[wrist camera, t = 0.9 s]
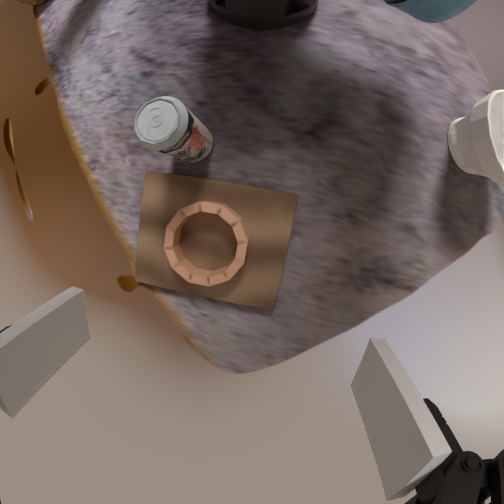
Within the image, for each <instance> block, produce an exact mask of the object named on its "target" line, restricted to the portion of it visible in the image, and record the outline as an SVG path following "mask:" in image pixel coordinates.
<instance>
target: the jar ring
mask: <svg viewBox="0 0 504 504" xmlns="http://www.w3.org/2000/svg"><path fill="white" fill-rule="evenodd" d="M201 211H202V212H208V213H214V214H218V215H219V216H221V217H222V218H223V219H224V220H225V221H226V222H228V223H229V224H230V225H231V226H232V228H233V231H234V234H235V236H236V239H237V242H238V245H237V250H236V256H235V258H234V259H233V260H232V261H231V262H230V263H229V264H228V266H226V267H223V268H220V269H217V270H214V271H209V270H204V269H199V268H196V267H195V266H194V265H193V264H192V263H190V262H189V261H188V260H187V259H186V258H185V257H184V254H183V252H182V249H181V246H180V244H179V241H180V233H181V227H182V226H183V225H184V223H185V222H186V221H187V220H188V218H189V217H190V216H191V215H193V214H195V213H198V212H201ZM248 241H249V236H248V233H247V231H246V228H245V225H244V222H243V220H242V218H241V217H240V216H239V215H238V214H237V213H236V212H234V211H233V210H232V209H231V208H230V207H228V206H227V205H226V204H222V203H216V202H211V201H199V202H197V203H194V204H192V205H189V206H187V207H184V208H182V209H179V210H178V212H177V213H176V214H175V216H174V217H173V218H172V220H171V221H170V223H169V224H168V225H167V227H166V234H165V242H164V250H165V252H166V255H167V257H168V260H169V262H170V265H171V267H172V269H173V270H175V271H176V272H177V273H178V274H179V275H180V276H182V277H183V278H184V279H185V280H186V281H188V282H190V283H195V284H199V285H204V286H213V285H216V284H219V283H222V282H225V281H228V280H230V279H231V278H232V277H233V275H234V274H235V273H236V272H237V271H238V270H239V269H240V268H241V266H242V265H243V264H244V261H245V257H246V252H247V247H248Z"/></svg>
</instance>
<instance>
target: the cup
mask: <svg viewBox="0 0 504 504" xmlns="http://www.w3.org/2000/svg"><path fill="white" fill-rule="evenodd" d="M448 146H449V149H450V152H451V155H452V157H453V159H454V161H455V162H456V164H457V166H458V167H459V168H460V169H462V170H463V171H464V172H466V173H469V174H478V175H481V176H485V177H488V178H490V179H491V180H492V181H493V182H494V183H497V184H501V185H504V90H496V91H493V92H492V93H490V94H488V95H487V96H485V97H484V98H482V99H481V100H479V101H478V102H477V103H476V104H475V106H474V107H473V108H472V110H471V111H470V113H469V114H468V115H467V116H465V117H462V118H458V119H456V120H454V121H453V122H452V123H451V124H450V126H449V130H448Z"/></svg>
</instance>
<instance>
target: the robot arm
mask: <svg viewBox="0 0 504 504" xmlns="http://www.w3.org/2000/svg"><path fill="white" fill-rule="evenodd" d="M209 1H210V4H211V6H212V8H213V10H214V11H215V13H216V14H217V15H218V16H220V17H221V18H223V19H224V20H226V21H228V22H230V23H232V24H235V25H238V26H242V27H247V28H254V29H275V28H282V27H287V26H290V25H294V24H296V23H299V22H301V21H303V20H304V19H306V18H307V17H309V16H310V15H311V14H312V13H313V11H314V10H315V8H316V5H317V2H318V0H209ZM383 1H385V2H386V3H387V4H388V5H390V6H394V7H396V8H398V9H400V10H402V11H404V12H406V13H407V14H409V15H411V16H412V17H414V18H416V19H418V20H420V21H423V22H426V23H436V22H442V21H445V20H448V19H451V18H453V17H455V16H456V15H458V14H460V13H461V12H463V11H464V10H466V9H467V8H468V7H470V6H471V5H472V4H473V3H474V2H475V1H477V0H383ZM89 339H90V334H89V328H88V321H87V314H86V306H85V297H84V290H83V289H79V288H76V287H71V288H69V289H67V290H66V291H64V292H63V293H61V294H59V295H58V296H56V297H55V298H53V299H51V300H50V301H48V302H47V303H45V304H43V305H42V306H40V307H39V308H37V309H36V310H34V311H32V312H31V313H29V314H28V315H26V316H25V317H23V318H22V319H21V320H19V321H17V322H16V323H14V324H13V325H11V326H8V327H6V328H4V329H3V330H2V331H0V408H1V409H2V410H3V411H4V412H5V413H7V414H8V415H9V416H10V417H12V418H13V417H15V415H16V414H17V413H18V412H19V411H20V410H21V409H22V408H23V406H24V405H25V404H26V403H27V402H28V401H29V400H30V399H31V398H32V397H33V396H34V395H35V394H36V392H38V390H39V389H40V388H41V387H42V386H43V385H44V384H45V383H46V382H47V381H48V380H49V379H50V378H51V377H52V376H53V375H54V374H55V373H56V372H57V371H58V370H59V369H60V368H61V367H62V366H63V365H64V364H65V363H66V362H67V361H68V360H69V359H70V358H71V357H72V356H73V355H74V354H75V353H76V352H77V351H78V350H79V349H80V348H81V347H82V346H83V345H84V344H85V343H86V342H87V341H88V340H89ZM351 387H352V390H353V393H354V396H355V399H356V402H357V405H358V408H359V411H360V413H361V417H362V419H363V423H364V426H365V429H366V432H367V435H368V438H369V441H370V444H371V448H372V451H373V454H374V457H375V461H376V464H377V467H378V471H379V474H380V477H381V481H382V484H383V488H384V492H385V495H386V499H387V501H388V500H393V499H397V498H401V497H404V496H406V495H407V494H409V493H410V492H411V491H412V490H413V489H414V488H415V489H416V492H417V494H416V495H415V496H414V497H413V498H411V499H410V500H409V501H407V502H406V503H405V504H485V500H486V499H488V498H489V497H490V496H491V502H490V503H489V504H504V450H502V451H501V452H500V453H499V454H498V455H497V456H496V457H495V458H494V459H485V460H482V459H481V458H480V457H479V456H478V454H476V453H474V452H471V451H465V452H463V450H462V449H461V447H460V445H459V443H458V441H457V440H456V438H455V436H454V435H453V433H452V431H451V429H450V428H449V426H448V425H446V421H445V419H444V418H443V417H442V414H441V413H440V411H439V409H438V408H437V406H436V405H435V404H434V403H432V402H431V401H430V400H429V399H428V398H427V399H422V397H421V395H420V394H419V392H418V390H417V389H416V387H415V385H414V384H413V382H412V381H411V379H410V378H409V376H408V374H407V373H406V371H405V369H404V368H403V366H402V365H401V363H400V362H399V360H398V359H397V357H396V355H395V354H394V352H393V351H392V349H391V348H390V346H389V345H388V343H387V342H386V340H385V339H372V338H371V339H370V340H369V343H368V345H367V348H366V351H365V353H364V356H363V358H362V361H361V363H360V366H359V368H358V370H357V373H356V375H355V377H354V380H353V382H352V384H351ZM0 504H1V501H0Z"/></svg>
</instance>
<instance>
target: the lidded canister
mask: <svg viewBox="0 0 504 504" xmlns="http://www.w3.org/2000/svg"><path fill="white" fill-rule="evenodd" d="M134 130H135V134H136V137H137V140H138V141H139V143H140V144H141V145H142V146H143V147H145V148H147V149H149V150H153V151H159V152H162V153H165V154H168V155H171V156H174V157H177V158H180V159H181V160H183V161H186V162H190V163H193V162H198V161H200V160H202V159H204V158H205V157H206V156H207V155H208V154H209V153H210V151H211V149H212V145H213V137H212V134H211V132H210V131H209V130H208V129H207V128H206V127H205V126H204V124H203V123H202V122H201V121H200V120H199V119H198V118H197V117H196V116H195V115H194V114H193V113H192V112H191V111H190V110H189V109H188V108H187V107H186V106H185V105H184V104H183V103H182V102H181V101H180V100H178V99H176V98H173V97H169V96H162V97H158V98H155V99H153V100H151V101H148V102H146V103H145V104H144V105H143V106H142V108H141V109H140V110H139V111H138V113H137V114H136V118H135V126H134Z"/></svg>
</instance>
